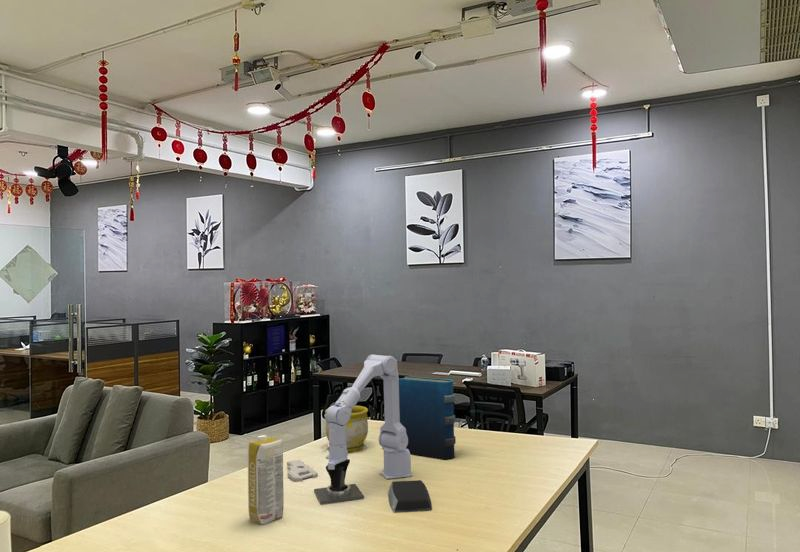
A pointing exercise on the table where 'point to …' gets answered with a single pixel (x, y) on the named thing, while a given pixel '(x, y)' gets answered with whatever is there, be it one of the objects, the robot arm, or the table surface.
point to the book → (428, 416)
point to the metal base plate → (338, 494)
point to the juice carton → (265, 479)
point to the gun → (300, 470)
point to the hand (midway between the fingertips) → (338, 485)
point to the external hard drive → (409, 496)
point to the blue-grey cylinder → (342, 484)
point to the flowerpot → (355, 428)
